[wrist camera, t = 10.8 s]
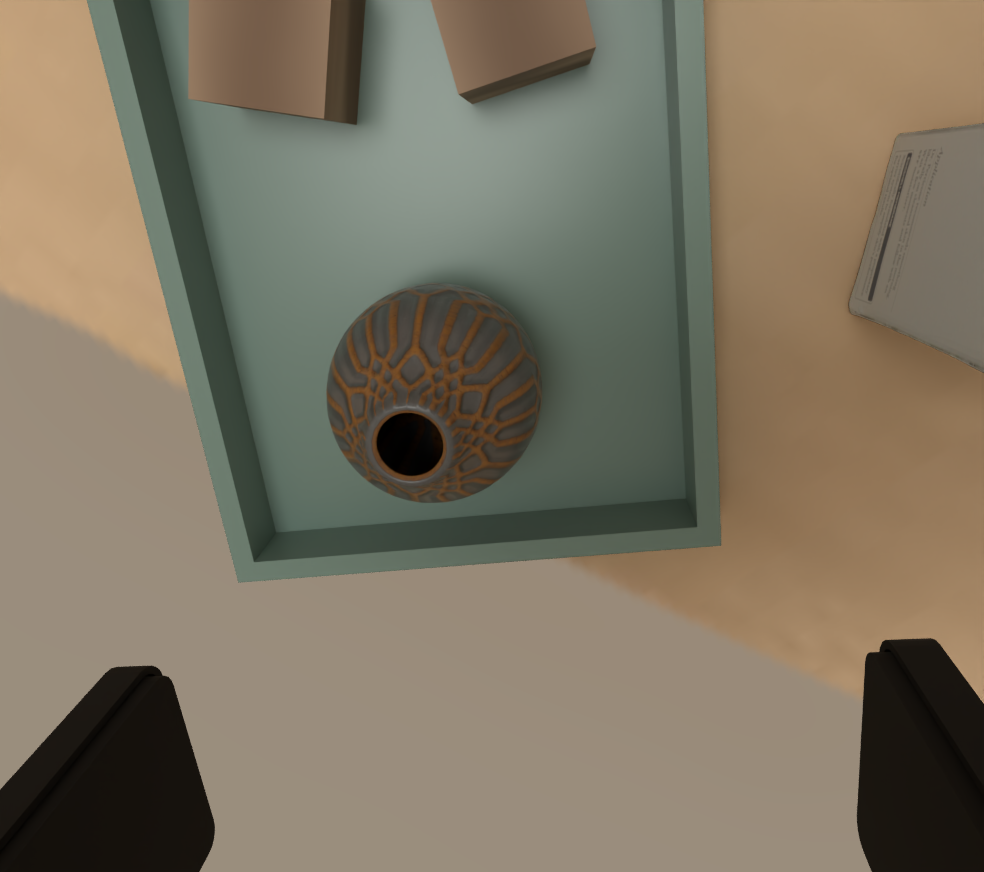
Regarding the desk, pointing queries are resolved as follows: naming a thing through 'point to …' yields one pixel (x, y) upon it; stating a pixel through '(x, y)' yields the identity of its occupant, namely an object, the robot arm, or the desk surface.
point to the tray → (440, 281)
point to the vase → (434, 392)
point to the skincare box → (929, 244)
